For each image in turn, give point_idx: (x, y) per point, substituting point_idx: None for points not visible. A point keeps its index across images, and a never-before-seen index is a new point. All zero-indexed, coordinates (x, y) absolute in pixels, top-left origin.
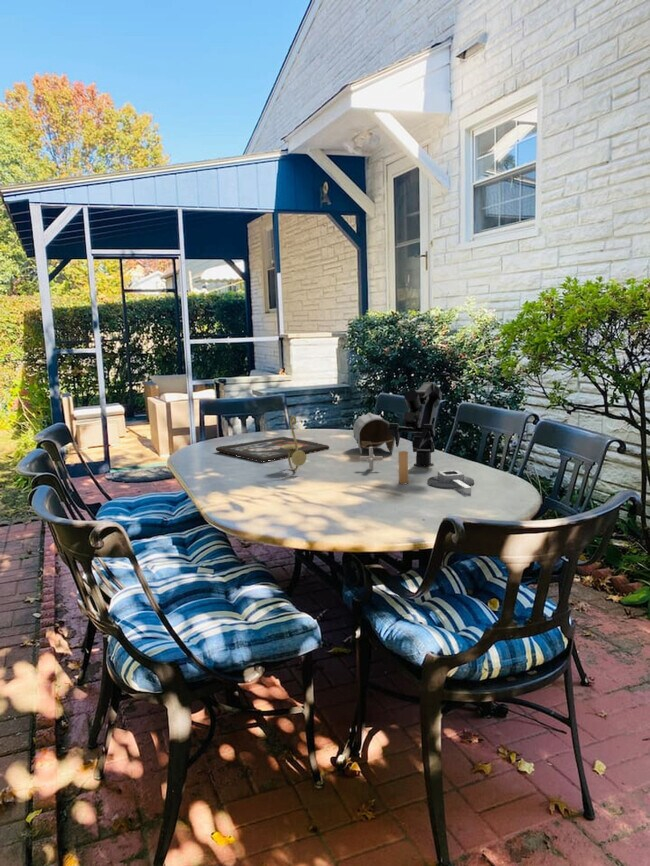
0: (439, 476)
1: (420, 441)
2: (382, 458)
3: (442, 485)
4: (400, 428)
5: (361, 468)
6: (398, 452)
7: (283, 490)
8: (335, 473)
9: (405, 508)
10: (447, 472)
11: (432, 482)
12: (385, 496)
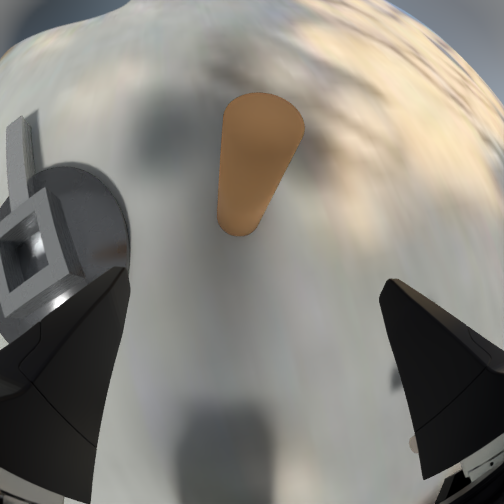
0: (69, 249)
1: (79, 300)
2: (415, 439)
3: (69, 168)
4: (501, 495)
5: None
6: (300, 116)
7: (475, 124)
8: (488, 307)
9: (185, 13)
10: (33, 278)
11: (102, 202)
12: (255, 60)
